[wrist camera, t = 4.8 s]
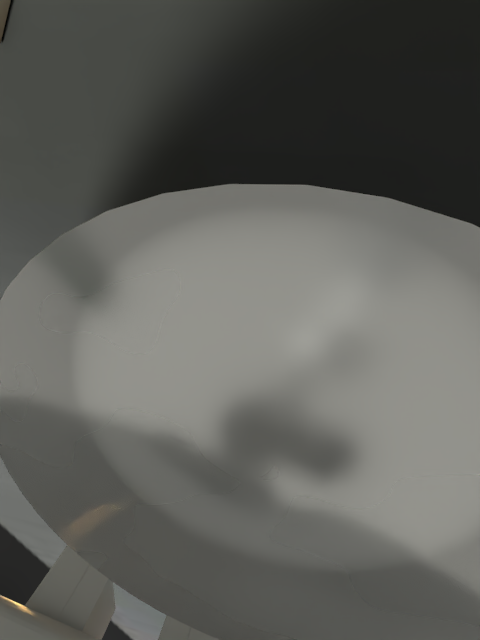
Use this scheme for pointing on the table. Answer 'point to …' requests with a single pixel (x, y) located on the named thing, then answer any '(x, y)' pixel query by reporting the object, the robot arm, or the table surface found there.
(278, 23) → the table surface
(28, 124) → the table surface
